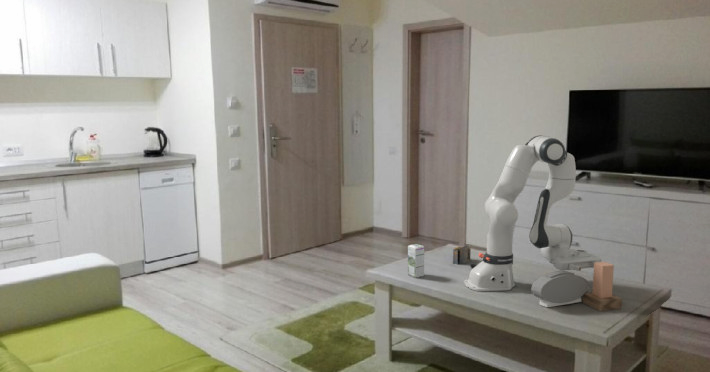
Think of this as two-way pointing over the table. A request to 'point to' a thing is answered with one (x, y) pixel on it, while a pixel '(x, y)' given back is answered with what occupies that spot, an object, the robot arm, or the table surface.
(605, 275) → the terracotta block
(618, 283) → the table surface
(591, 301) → the block
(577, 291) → the alarm clock
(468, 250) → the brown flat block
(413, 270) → the syrup box
